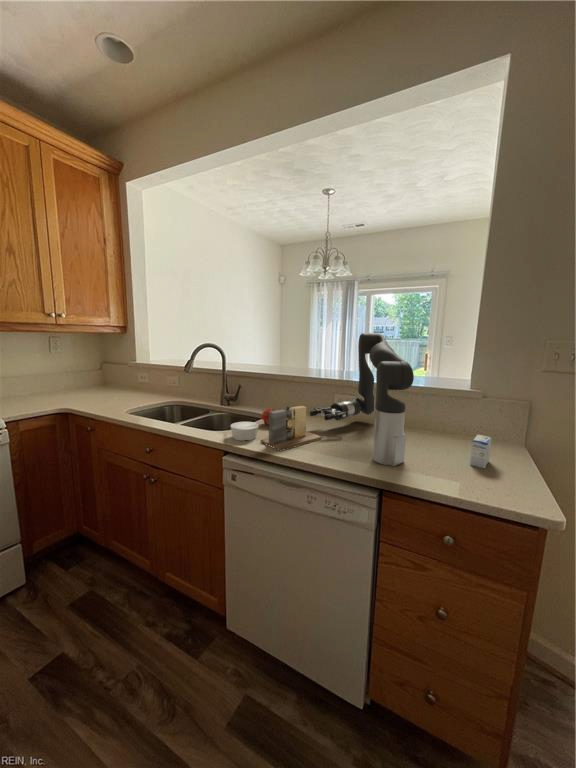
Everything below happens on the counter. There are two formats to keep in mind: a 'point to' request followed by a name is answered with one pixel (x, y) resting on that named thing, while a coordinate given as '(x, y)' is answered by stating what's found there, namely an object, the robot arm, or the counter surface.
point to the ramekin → (244, 430)
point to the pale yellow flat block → (297, 422)
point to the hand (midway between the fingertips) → (317, 415)
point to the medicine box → (480, 451)
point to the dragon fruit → (266, 415)
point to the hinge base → (294, 441)
